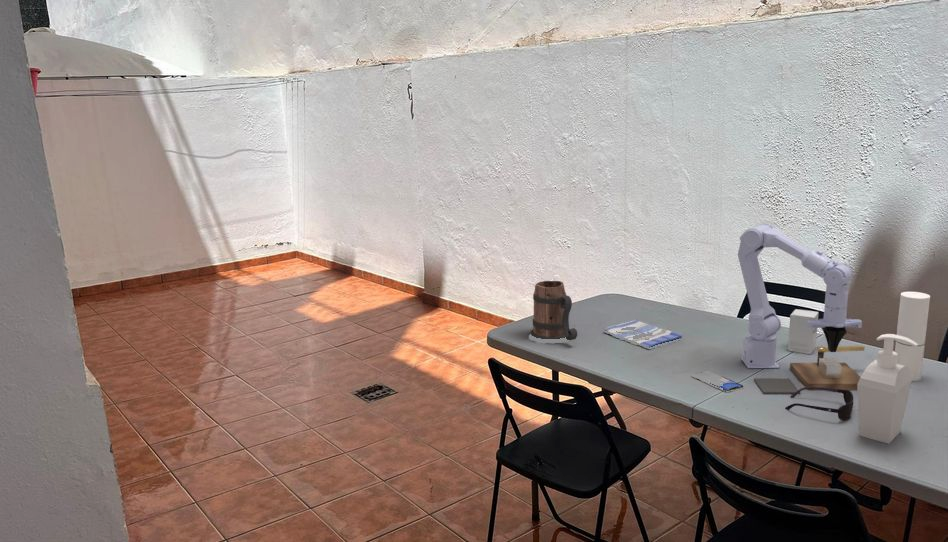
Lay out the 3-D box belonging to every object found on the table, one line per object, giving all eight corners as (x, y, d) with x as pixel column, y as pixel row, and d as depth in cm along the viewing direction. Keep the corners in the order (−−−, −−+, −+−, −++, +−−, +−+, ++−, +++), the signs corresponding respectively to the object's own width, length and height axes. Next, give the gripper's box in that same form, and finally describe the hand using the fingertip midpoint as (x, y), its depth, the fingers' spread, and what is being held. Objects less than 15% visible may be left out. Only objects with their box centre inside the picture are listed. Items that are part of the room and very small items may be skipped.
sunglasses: (849, 426, 178) (851, 408, 177) (783, 414, 186) (784, 397, 185) (854, 405, 189) (855, 388, 188) (791, 395, 197) (792, 378, 196)
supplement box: (811, 354, 225) (814, 317, 222) (787, 350, 229) (789, 314, 226) (816, 347, 231) (819, 311, 228) (792, 344, 235) (795, 308, 232)
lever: (818, 352, 209) (819, 349, 209) (815, 350, 211) (815, 346, 211) (865, 351, 209) (865, 347, 208) (861, 348, 211) (861, 345, 211)
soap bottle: (898, 450, 165) (909, 347, 158) (852, 437, 172) (861, 338, 166) (914, 432, 173) (925, 333, 166) (870, 420, 180) (879, 325, 174)
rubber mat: (763, 394, 198) (763, 392, 198) (753, 380, 208) (754, 378, 208) (800, 394, 197) (800, 392, 197) (789, 380, 206) (789, 378, 206)
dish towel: (636, 324, 264) (636, 317, 263) (684, 341, 244) (684, 333, 244) (601, 334, 256) (601, 326, 255) (648, 352, 236) (648, 344, 235)
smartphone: (707, 372, 216) (707, 368, 216) (745, 388, 203) (745, 385, 203) (688, 377, 213) (689, 374, 213) (726, 394, 200) (726, 391, 200)
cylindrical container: (919, 373, 207) (928, 292, 201) (922, 382, 200) (931, 299, 194) (891, 370, 210) (899, 290, 204) (893, 379, 203) (902, 297, 197)
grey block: (825, 378, 202) (826, 365, 201) (818, 370, 207) (819, 358, 206) (840, 378, 201) (841, 365, 200) (832, 370, 207) (833, 358, 206)
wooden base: (807, 389, 199) (809, 370, 198) (789, 368, 215) (791, 350, 213) (867, 390, 197) (868, 370, 196) (844, 368, 213) (846, 349, 211)
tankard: (518, 334, 258) (517, 282, 253) (556, 325, 266) (555, 275, 261) (554, 353, 238) (553, 296, 233) (594, 343, 245) (594, 288, 241)
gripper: (814, 311, 196) (811, 356, 199) (868, 309, 195) (864, 355, 198) (805, 303, 203) (802, 347, 206) (857, 302, 202) (853, 346, 205)
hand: (832, 350), depth 203 cm, fingers closed
